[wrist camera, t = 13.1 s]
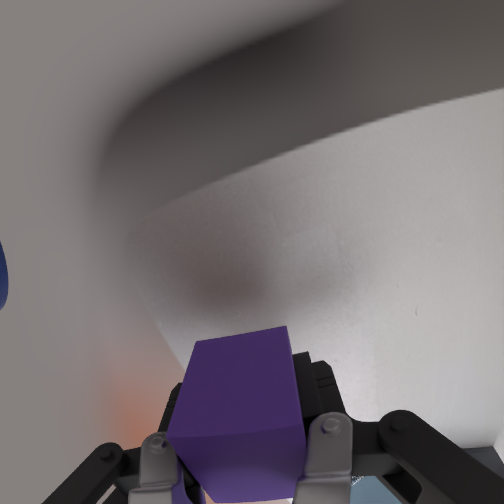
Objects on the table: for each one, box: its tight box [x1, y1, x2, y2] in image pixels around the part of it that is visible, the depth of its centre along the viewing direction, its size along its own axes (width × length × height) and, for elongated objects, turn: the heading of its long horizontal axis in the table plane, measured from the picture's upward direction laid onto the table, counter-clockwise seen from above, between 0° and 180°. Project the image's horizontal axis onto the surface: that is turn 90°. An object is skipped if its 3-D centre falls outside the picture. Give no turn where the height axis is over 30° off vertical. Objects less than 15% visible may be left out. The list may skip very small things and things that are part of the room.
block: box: [166, 326, 307, 503], centre depth 9 cm, size 4×4×5 cm
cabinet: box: [463, 447, 504, 479], centre depth 19 cm, size 15×13×9 cm
